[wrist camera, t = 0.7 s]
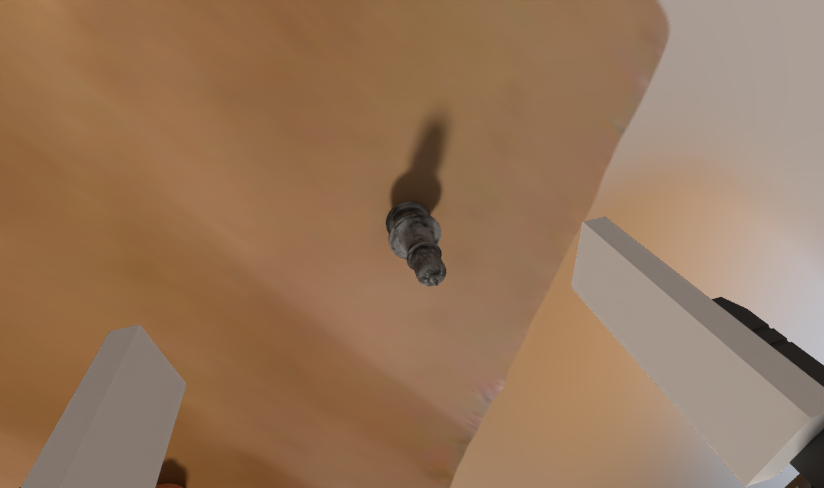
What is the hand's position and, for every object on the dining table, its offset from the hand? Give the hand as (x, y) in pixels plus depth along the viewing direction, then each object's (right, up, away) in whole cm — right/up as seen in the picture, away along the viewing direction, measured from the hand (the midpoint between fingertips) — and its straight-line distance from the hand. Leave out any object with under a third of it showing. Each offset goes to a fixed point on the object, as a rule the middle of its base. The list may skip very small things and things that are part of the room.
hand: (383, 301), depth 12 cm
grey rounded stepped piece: (0, +4, +33) cm, 33 cm away
